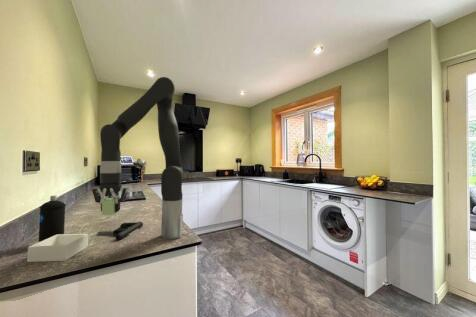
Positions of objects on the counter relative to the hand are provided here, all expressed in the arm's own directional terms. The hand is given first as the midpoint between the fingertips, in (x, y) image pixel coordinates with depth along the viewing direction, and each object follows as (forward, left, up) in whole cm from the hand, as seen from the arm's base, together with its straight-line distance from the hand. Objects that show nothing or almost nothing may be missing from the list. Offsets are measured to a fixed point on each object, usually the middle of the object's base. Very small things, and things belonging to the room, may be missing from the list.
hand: (110, 211), depth 83 cm
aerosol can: (+24, -2, -14) cm, 28 cm away
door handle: (+3, -14, -14) cm, 20 cm away
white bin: (+13, +8, -14) cm, 21 cm away
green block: (0, 0, -1) cm, 1 cm away
